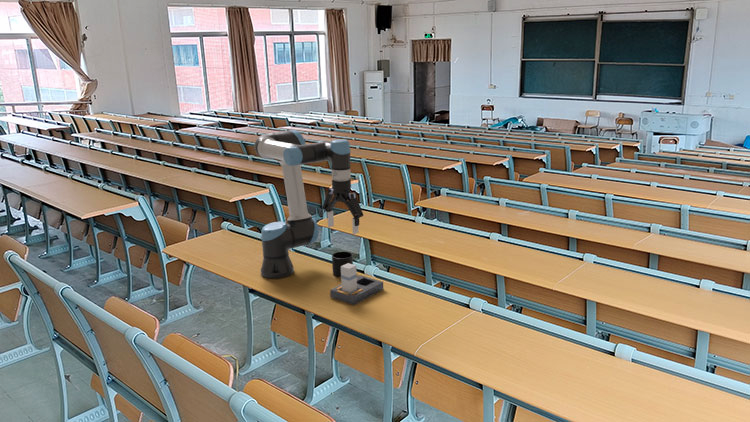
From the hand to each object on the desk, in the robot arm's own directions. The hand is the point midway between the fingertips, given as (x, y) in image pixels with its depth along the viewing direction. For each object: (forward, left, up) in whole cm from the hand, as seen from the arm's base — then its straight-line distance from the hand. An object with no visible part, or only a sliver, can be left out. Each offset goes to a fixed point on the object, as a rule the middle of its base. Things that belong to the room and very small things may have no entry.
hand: (343, 229), depth 225 cm
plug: (+3, -1, -29) cm, 29 cm away
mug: (-15, +16, -29) cm, 36 cm away
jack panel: (+3, +3, -29) cm, 29 cm away
